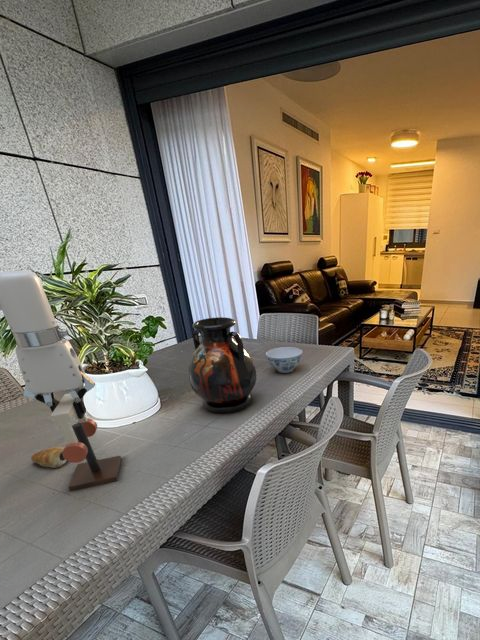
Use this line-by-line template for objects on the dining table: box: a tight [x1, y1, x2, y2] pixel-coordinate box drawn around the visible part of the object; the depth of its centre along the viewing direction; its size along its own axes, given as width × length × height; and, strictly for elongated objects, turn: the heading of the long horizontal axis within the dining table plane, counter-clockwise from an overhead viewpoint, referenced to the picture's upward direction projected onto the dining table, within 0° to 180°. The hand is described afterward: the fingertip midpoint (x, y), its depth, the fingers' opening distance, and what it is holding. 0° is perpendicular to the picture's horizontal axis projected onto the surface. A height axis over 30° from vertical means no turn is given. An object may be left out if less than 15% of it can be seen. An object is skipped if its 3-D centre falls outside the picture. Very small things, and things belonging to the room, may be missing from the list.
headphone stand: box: [68, 422, 123, 492], centre depth 84 cm, size 10×10×14 cm
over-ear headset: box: [50, 393, 98, 464], centre depth 81 cm, size 4×14×12 cm, turn 20°
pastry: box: [31, 446, 68, 469], centre depth 93 cm, size 9×7×4 cm
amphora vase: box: [188, 316, 258, 414], centre depth 114 cm, size 22×22×28 cm
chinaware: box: [265, 346, 303, 374], centre depth 147 cm, size 15×15×8 cm
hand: (72, 417), depth 80 cm, fingers closed on over-ear headset, 3 cm apart
